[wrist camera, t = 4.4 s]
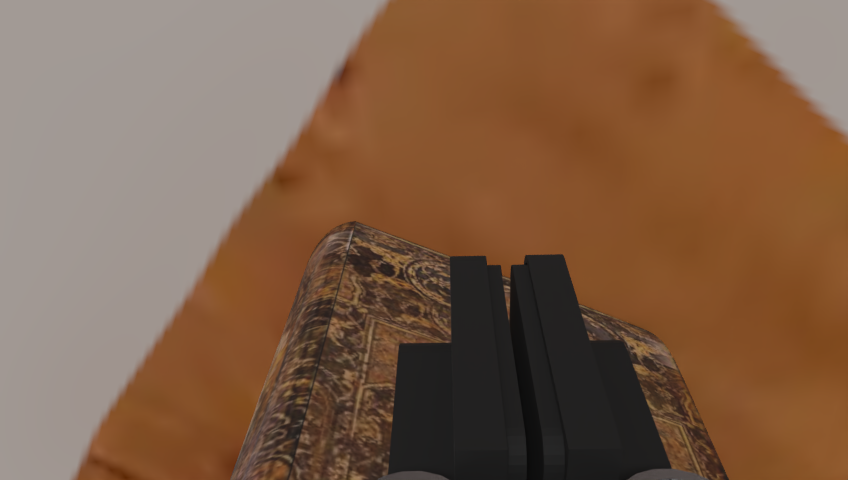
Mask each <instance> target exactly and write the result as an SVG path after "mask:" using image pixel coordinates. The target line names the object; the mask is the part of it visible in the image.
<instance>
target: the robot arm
mask: <svg viewBox="0 0 848 480" xmlns="http://www.w3.org/2000/svg"><path fill="white" fill-rule="evenodd" d="M450 300H451V342H448V343H400V344H399V349H398V360H397V372H396V384H395V396H394V407H393V419H392V431H391V443H390V455H389V467H388V475H386V476H383V477H381V478H379V479H377V480H709V479H707V478H705V477H702V476H700V475H698V474H695V473H691V472H686V471H682V470H677V469H672V467H671V464H670V462H669V459H668V456H667V454H666V451H665V448H664V446H663V443H662V441H661V438H660V435H659V433H658V430H657V427H656V425H655V422H654V419H653V417H652V414H651V411H650V409H649V406H648V403H647V401H646V398H645V396H644V393H643V390H642V388H641V385H640V382H639V380H638V377H637V374H636V372H635V369H634V366H633V364H632V361H631V359H630V356H629V353H628V351H627V348H626V346H625V344H624V342H622V341H621V340H589V336H588V333H587V330H586V327H585V323H584V320H583V317H582V314H581V310H580V307H579V304H578V301H577V297H576V294H575V291H574V288H573V284H572V281H571V278H570V275H569V271H568V268H567V265H566V262H565V258H564V256H563V255H562V254H561V255H526V256H525V260H524V265H512V266H511V276H510V312H509V319H508V312H507V306H506V299H505V292H504V285H503V279H502V272H501V266H500V265H487V261H486V256H453V257H450Z"/></svg>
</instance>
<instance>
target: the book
mask: <svg viewBox="0 0 848 480" xmlns="http://www.w3.org/2000/svg"><path fill="white" fill-rule="evenodd" d="M502 279H503V285H504V292H505V299H506V306H507V312H508V319H509V312H510V278H507V277H504V276H502ZM579 307H580V310H581V314H582V317H583V320H584V323H585V327H586V330H587V333H588V336H589V340H621V341H622V342H624V344H625V346H626V348H627V351H628V353H629V356H630V359H631V361H632V364H633V366H634V369H635V372H636V374H637V377H638V380H639V382H640V385H641V388H642V390H643V393H644V396H645V398H646V401H647V403H648V406H649V409H650V411H651V414H652V417H653V419H654V422H655V425H656V427H657V430H658V433H659V435H660V438H661V441H662V443H663V446H664V448H665V451H666V454H667V456H668V459H669V462H670V464H671V467H672V469H677V470H682V471H686V472H691V473H695V474H698V475H700V476H702V477H705V478H707V479H709V480H729V479H728V477H727V475H726V472H725V470H724V468H723V466H722V463H721V461H720V459H719V457H718V455H717V452H716V450H715V448H714V446H713V443H712V441H711V439H710V437H709V435H708V432H707V430H706V428H705V426H704V423H703V421H702V419H701V417H700V415H699V412H698V410H697V408H696V406H695V404H694V401H693V399H692V397H691V395H690V392H689V390H688V388H687V386H686V384H685V381H684V379H683V377H682V375H681V373H680V371H679V369H678V366H677V364H676V362H675V360H674V358H673V357H672V356H671V354H670V352H669V350H668V349H667V347H666V346H665V344H664V343H663V342H662V341H661V340H660V339H659V338H658V337H657V336H655V335H654V334H652V333H651V332H649V331H647V330H644V329H642V328H639V327H637V326H634V325H631V324H629V323H626V322H624V321H621V320H619V319H616V318H614V317H611V316H609V315H606V314H604V313H601V312H599V311H596V310H593V309H591V308H588V307H586V306H583V305H580V304H579ZM448 342H451V300H450V256H447V255H444V254H442V253H439V252H436V251H434V250H431V249H428V248H425V247H423V246H420V245H417V244H415V243H412V242H409V241H406V240H404V239H401V238H398V237H396V236H393V235H390V234H387V233H385V232H382V231H379V230H377V229H374V228H371V227H368V226H366V225H363V224H360V223H358V222H356V221H354V222H348V223H345V224H342V225H340V226H338V227H336V228H334V229H333V230H331V231H330V232H329V233H327V234H326V235H325V236H324V237H323V238H322V239H321V241H320V242H319V243H318V245H317V246H316V248H315V249H314V251H313V253H312V255H311V257H310V259H309V261H308V264H307V267H306V269H305V272H304V275H303V278H302V281H301V283H300V286H299V289H298V292H297V294H296V297H295V300H294V303H293V306H292V308H291V311H290V314H289V317H288V320H287V322H286V325H285V328H284V331H283V334H282V336H281V339H280V342H279V345H278V348H277V350H276V353H275V356H274V359H273V362H272V364H271V367H270V370H269V373H268V376H267V378H266V381H265V384H264V387H263V390H262V392H261V395H260V398H259V401H258V404H257V406H256V409H255V412H254V415H253V418H252V420H251V423H250V426H249V429H248V432H247V434H246V437H245V440H244V443H243V446H242V448H241V451H240V454H239V457H238V460H237V462H236V465H235V468H234V471H233V474H232V476H231V479H230V480H377V479H379V478H381V477H383V476H386V475H388V467H389V455H390V443H391V431H392V419H393V407H394V396H395V384H396V372H397V360H398V349H399V344H400V343H448Z"/></svg>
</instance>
